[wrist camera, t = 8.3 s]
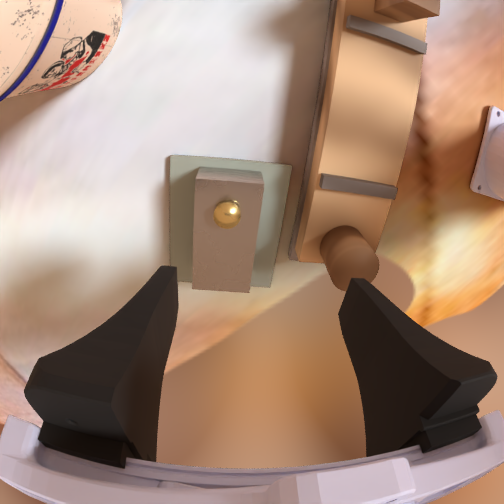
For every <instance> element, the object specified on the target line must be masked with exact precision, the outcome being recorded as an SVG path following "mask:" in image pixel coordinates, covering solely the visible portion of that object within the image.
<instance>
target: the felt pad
mask: <svg viewBox="0 0 504 504" xmlns="http://www.w3.org/2000/svg"><path fill="white" fill-rule="evenodd" d="M200 166H202V167H216V168H229V169H241V170H251V171H261V173H262V176H263V180H264V183H265V186H264V193H263V200H262V207H261V214H260V221H259V228H258V235H257V242H256V249H255V256H254V263H253V269H252V276H251V283H250V286H253V287H270V286H271V281H272V275H273V270H274V265H275V260H276V254H277V249H278V243H279V238H280V233H281V227H282V222H283V216H284V210H285V205H286V199H287V193H288V188H289V182H290V176H291V170H292V166H291V165H287V164H279V163H270V162H261V161H251V160H241V159H229V158H216V157H202V156H185V155H171V156H170V202H169V222H170V266H174V267H177V281H183V282H192V279H193V227H194V201H195V180H196V176H197V174H198V171H199V168H200Z"/></svg>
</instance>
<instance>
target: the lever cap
mask: <svg viewBox="0 0 504 504" xmlns="http://www.w3.org/2000/svg"><path fill="white" fill-rule="evenodd" d="M264 186H265V183H264V180H263V176H262V173H261V171H251V170H241V169H229V168H216V167H202V166H200V168H199V171H198V174H197V176H196V180H195V201H194V227H193V279H192V289H201V290H214V291H229V292H244V293H249V290H250V283H251V276H252V269H253V263H254V256H255V249H256V242H257V235H258V228H259V221H260V214H261V207H262V200H263V193H264Z"/></svg>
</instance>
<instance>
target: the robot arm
mask: <svg viewBox="0 0 504 504" xmlns="http://www.w3.org/2000/svg"><path fill="white" fill-rule="evenodd" d="M478 186H479V187H478ZM470 188H471V190H472V191H474V192H477V193H480V194H483V195H486V196H489V197H492V198H495V199H498V200H501V201H504V111H502V110H500V109H499V108H497V107H495V106H490V108H489V112H488V117H487V122H486V127H485V132H484V136H483V140H482V144H481V148H480V152H479V156H478V160H477V164H476V167H475V171H474V174H473V178H472V181H471V184H470ZM177 313H178V284H177V267H174V266H161V267H160V268H159V269H158V270H157V271H156V272H155V274H154V275H153V276H152V277H151V278H150V279H149V281H148V282H147V283H146V284H145V285H144V286H143V287H142V288H141V289H140V290H139V291H138V293H137V294H136V295H135V296H134V297H133V298H132V299H131V300H130V301H129V302H128V303H127V304H125V305H124V306H123V307H122V308H121V309H120V310H119V311H118V312H117V313H116V314H115V315H113V316H112V317H111V318H110V319H108V320H107V321H106V322H105V323H103V324H102V325H101V326H99V327H98V328H96V329H95V330H93V331H92V332H90V333H89V334H87V335H86V336H84V337H82V338H81V339H79V340H77V341H75V342H74V343H72V344H70V345H68V346H66V347H64V348H62V349H60V350H58V351H55V352H53V353H51V354H48V355H46V356H44V357H41V358H39V359H38V361H37V363H36V365H35V366H34V368H33V371H32V373H31V375H30V377H29V380H28V382H27V384H26V387H25V389H24V394H25V397H26V399H27V401H28V402H29V404H30V405H31V406H32V408H33V409H34V410H35V411H36V412H37V414H38V415H39V416H40V417H41V419H42V420H43V421H44V422H43V425H42V428H40V427H38V426H37V425H35V424H33V423H31V422H28V421H25V420H23V419H20V418H18V417H15V416H13V415H8V417H7V420H6V423H5V425H4V428H3V431H2V434H1V437H0V479H1V480H3V481H5V482H6V483H8V484H9V485H11V486H13V487H14V488H16V489H18V490H19V491H21V492H23V493H25V494H26V495H29V496H31V497H33V498H35V499H38V500H40V501H42V502H45V503H47V504H427V503H430V502H432V501H434V500H437V499H439V498H441V497H443V496H445V495H448V494H450V493H452V492H454V491H456V490H458V489H460V488H462V487H464V486H466V485H468V484H470V483H472V482H473V481H475V480H477V479H479V478H481V477H483V476H484V475H486V474H487V473H489V472H490V471H492V470H493V469H495V468H496V467H498V466H499V465H501V464H502V463H503V462H504V419H503V417H502V415H501V413H500V411H499V410H496V411H493V412H491V413H489V414H486V415H484V416H483V417H481V418H479V419H478V418H477V415H476V414H477V413H478V412H479V408H478V406H477V404H478V403H479V402H480V401H481V400H482V399H483V398H484V397H485V396H486V395H487V393H488V392H489V391H490V390H491V389H492V388H493V386H494V385H495V383H496V380H497V374H496V372H495V371H494V369H493V367H492V366H491V364H490V362H488V361H486V360H483V359H480V358H478V357H475V356H472V355H470V354H468V353H466V352H463V351H461V350H459V349H457V348H455V347H453V346H451V345H449V344H448V343H446V342H444V341H443V340H441V339H439V338H438V337H436V336H434V335H433V334H431V333H430V332H428V331H427V330H426V329H424V328H423V327H421V326H420V325H419V324H417V323H416V322H415V321H413V320H412V319H411V318H410V317H408V316H407V315H406V314H405V313H404V312H402V311H401V310H400V309H399V308H398V307H397V306H395V305H394V304H393V303H392V302H391V301H390V300H389V299H388V298H386V297H385V296H384V295H383V294H382V293H381V292H380V291H379V290H377V289H376V288H375V287H374V286H373V285H372V284H371V283H369V282H368V281H367V280H366V279H364V278H351V280H350V283H349V286H348V288H347V291H346V294H345V297H344V300H343V302H342V305H341V308H340V311H339V313H338V315H339V320H340V326H341V330H342V335H343V338H344V341H345V344H346V346H347V349H348V352H349V355H350V358H351V361H352V364H353V367H354V370H355V373H356V376H357V380H358V384H359V389H360V394H361V399H362V406H363V413H364V421H365V433H366V456H367V457H365V458H360V459H354V460H348V461H342V462H335V463H327V464H319V465H310V466H299V467H285V468H265V469H264V468H261V469H232V468H231V469H230V468H208V467H207V468H206V467H194V466H183V465H173V464H165V463H158V462H156V451H157V431H158V417H159V406H160V396H161V387H162V380H163V375H164V370H165V366H166V362H167V358H168V354H169V350H170V347H171V343H172V339H173V335H174V331H175V327H176V320H177Z"/></svg>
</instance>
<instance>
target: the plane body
mask: <svg viewBox="0 0 504 504" xmlns="http://www.w3.org/2000/svg"><path fill="white" fill-rule="evenodd" d="M439 13H440V0H331V4H330V12H329V20H328V28H327V35H326V43H325V50H324V57H323V63H322V70H321V77H320V83H319V90H318V96H317V102H316V108H315V114H314V120H313V126H312V132H311V138H310V144H309V149H308V155H307V161H306V166H305V172H304V177H303V182H302V188H301V193H300V198H299V203H298V208H297V214H296V219H295V224H294V229H293V234H292V239H291V243H290V248H289V253H288V255H289V259H290V260H296V261H299V262H313V263H325V266H326V268H327V270H328V273H329V275H330V277H331V280H332V282H333V284H334V285H335V286H336V287H337V288H338V289H340V290H343V291H347V288H348V286H349V283H350V280H351V278H364V279H366V280H367V281H368V282H369V283H371V282H372V281H373V280H374V278H375V277H376V275H377V273H378V270H379V260H378V257H377V256H376V254H375V252H376V249H377V246H378V243H379V240H380V237H381V234H382V231H383V228H384V225H385V222H386V219H387V216H388V212H389V209H390V206H391V203H392V200H395V197H396V194H397V190H398V188H396V185H397V182H398V178H399V174H400V170H401V167H402V163H403V159H404V155H405V151H406V147H407V142H408V138H409V133H410V129H411V124H412V120H413V115H414V110H415V104H416V99H417V94H418V88H419V82H420V75H421V69H422V62H423V54H426V50H427V43H425V37H426V27H427V18H429V17H434V16H439Z"/></svg>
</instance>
